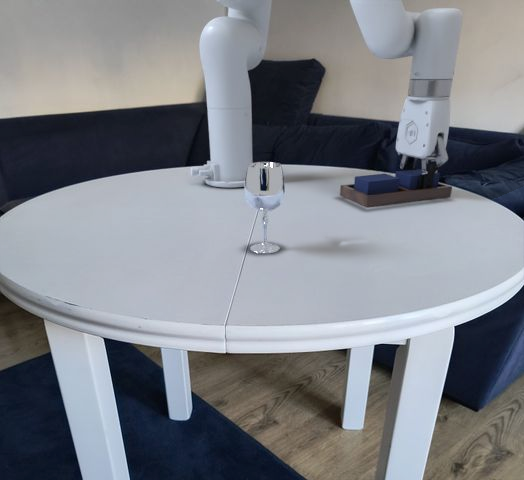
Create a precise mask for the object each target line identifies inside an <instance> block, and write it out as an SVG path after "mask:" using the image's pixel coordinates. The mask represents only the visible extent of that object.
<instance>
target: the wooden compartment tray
mask: <svg viewBox="0 0 524 480" xmlns="http://www.w3.org/2000/svg"><path fill="white" fill-rule="evenodd" d="M452 190H453V186H452V185H449V184H445V183H442V182H440V181H439V182H438V187H435V188H427V189H418V190H408V189H406V188H403V187H400V186H399V188H398V192H392V193H384V194H375V195H367V194H365V193H363V192H360V191H358V190H355V189H354V183H349V184H340V189H339V197H343V198H345V199H347V200H349V201H351V202H353V203H356V204H358V205H360V206H362V207H364V208H374V207H381V206H382V207H383V206H391V205H398V204H399V205H400V204H407V203H414V202H422V201H429V200H431V201H432V200H438V199H439V200H440V199H446V198H451V195H452Z"/></svg>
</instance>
